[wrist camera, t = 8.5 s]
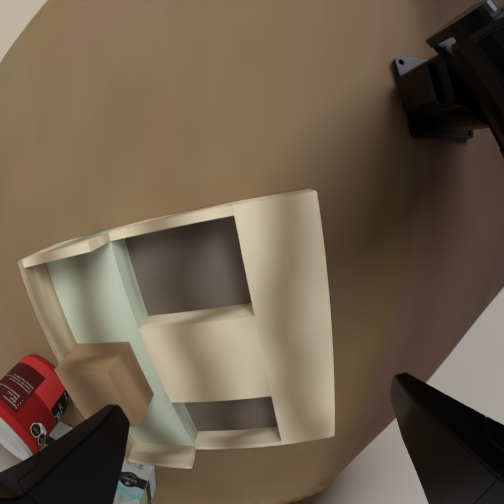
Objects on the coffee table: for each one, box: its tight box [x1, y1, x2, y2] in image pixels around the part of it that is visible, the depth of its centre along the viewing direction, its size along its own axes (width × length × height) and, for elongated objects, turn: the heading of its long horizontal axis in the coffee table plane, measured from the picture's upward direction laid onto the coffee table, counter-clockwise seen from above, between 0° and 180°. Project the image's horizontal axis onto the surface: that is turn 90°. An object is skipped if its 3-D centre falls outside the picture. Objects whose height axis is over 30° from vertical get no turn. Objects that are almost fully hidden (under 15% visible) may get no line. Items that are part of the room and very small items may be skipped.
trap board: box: [18, 189, 335, 469], centre depth 20 cm, size 21×22×5 cm
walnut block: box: [54, 341, 154, 427], centre depth 18 cm, size 6×6×4 cm
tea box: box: [39, 421, 156, 504], centre depth 22 cm, size 15×10×15 cm, turn 77°
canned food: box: [0, 355, 71, 460], centre depth 20 cm, size 8×8×11 cm
